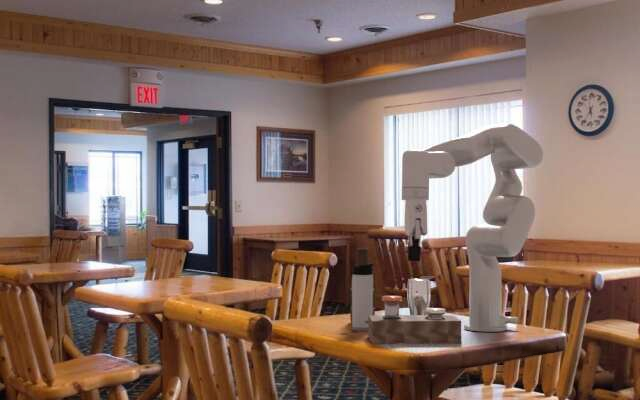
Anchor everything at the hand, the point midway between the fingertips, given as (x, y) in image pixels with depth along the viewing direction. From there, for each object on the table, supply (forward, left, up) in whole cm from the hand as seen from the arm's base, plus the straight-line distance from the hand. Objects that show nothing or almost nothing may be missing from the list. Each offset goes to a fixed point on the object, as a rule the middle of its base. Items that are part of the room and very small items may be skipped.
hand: (414, 260), depth 210 cm
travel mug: (+13, -19, -22) cm, 32 cm away
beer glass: (-4, -20, -22) cm, 30 cm away
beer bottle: (+12, -34, -22) cm, 42 cm away
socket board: (0, 0, -22) cm, 22 cm away
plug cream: (-6, 0, -22) cm, 22 cm away
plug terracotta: (+6, 0, -18) cm, 19 cm away
